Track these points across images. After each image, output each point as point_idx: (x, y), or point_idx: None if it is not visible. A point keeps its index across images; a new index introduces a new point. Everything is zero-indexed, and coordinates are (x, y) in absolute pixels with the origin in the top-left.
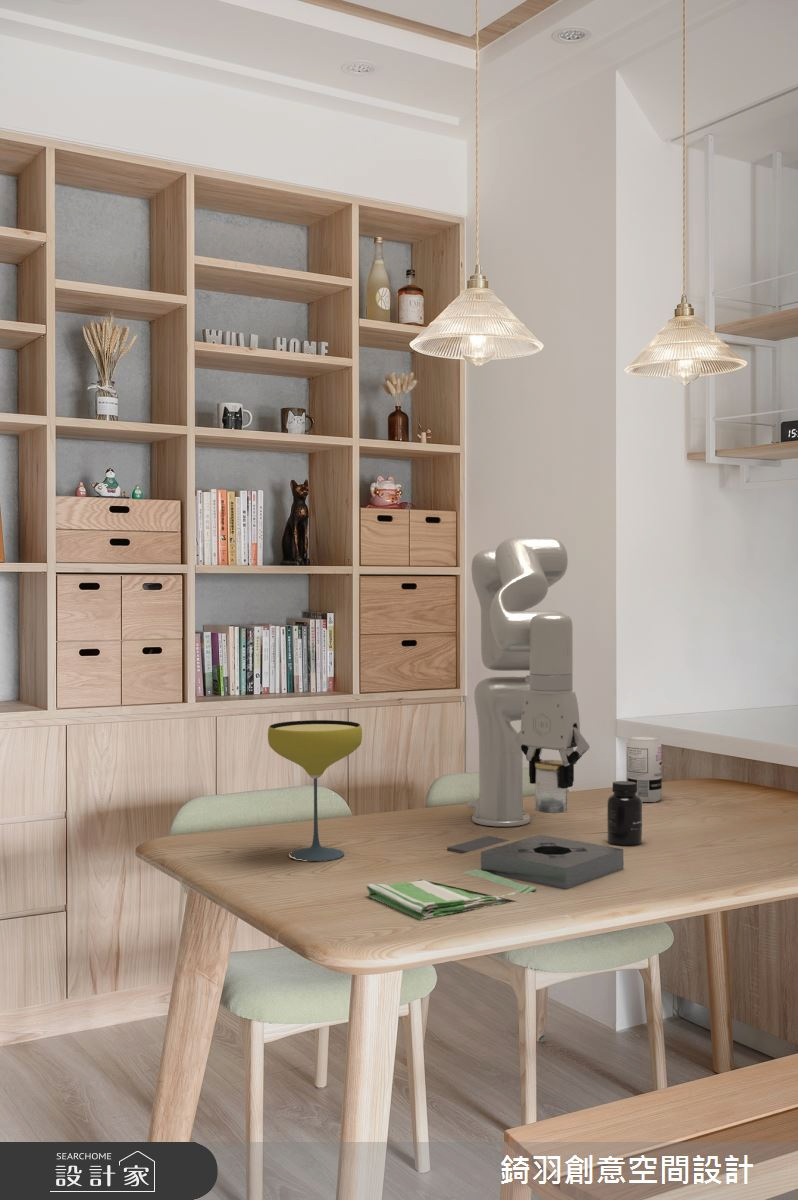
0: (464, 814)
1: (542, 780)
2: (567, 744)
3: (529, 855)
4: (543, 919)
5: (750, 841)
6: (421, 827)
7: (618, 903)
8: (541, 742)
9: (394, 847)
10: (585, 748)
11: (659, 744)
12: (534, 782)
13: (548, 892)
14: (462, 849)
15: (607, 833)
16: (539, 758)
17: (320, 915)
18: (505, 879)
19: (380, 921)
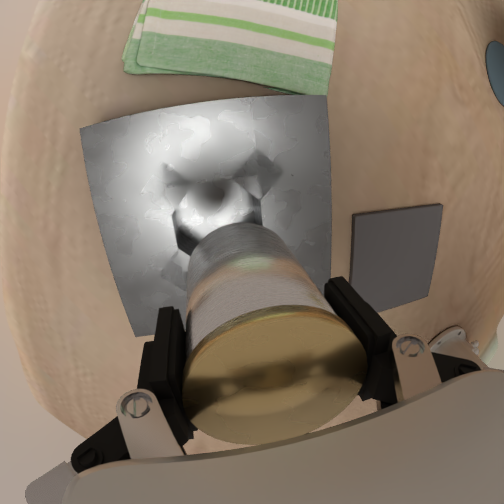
0: (472, 338)
1: (251, 276)
2: (62, 501)
3: (219, 145)
4: (44, 14)
5: None
6: (492, 267)
7: (20, 170)
8: (339, 469)
9: (483, 166)
10: (27, 488)
11: None
12: (325, 290)
13: (133, 113)
14: (423, 211)
15: None
16: (370, 392)
17: None
18: (215, 68)
19: None
